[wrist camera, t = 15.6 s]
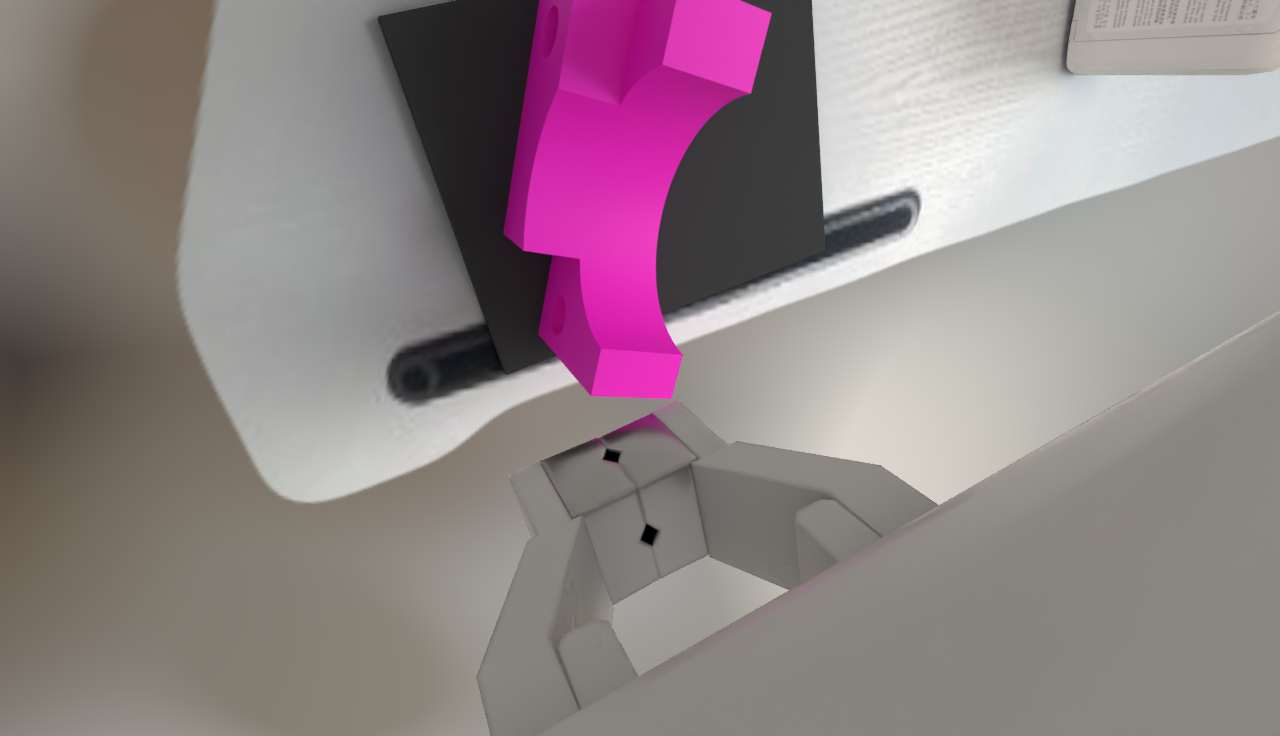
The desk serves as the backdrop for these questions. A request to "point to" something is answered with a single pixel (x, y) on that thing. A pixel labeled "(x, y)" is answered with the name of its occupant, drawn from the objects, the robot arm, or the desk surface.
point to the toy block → (617, 167)
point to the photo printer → (1174, 37)
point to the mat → (699, 192)
